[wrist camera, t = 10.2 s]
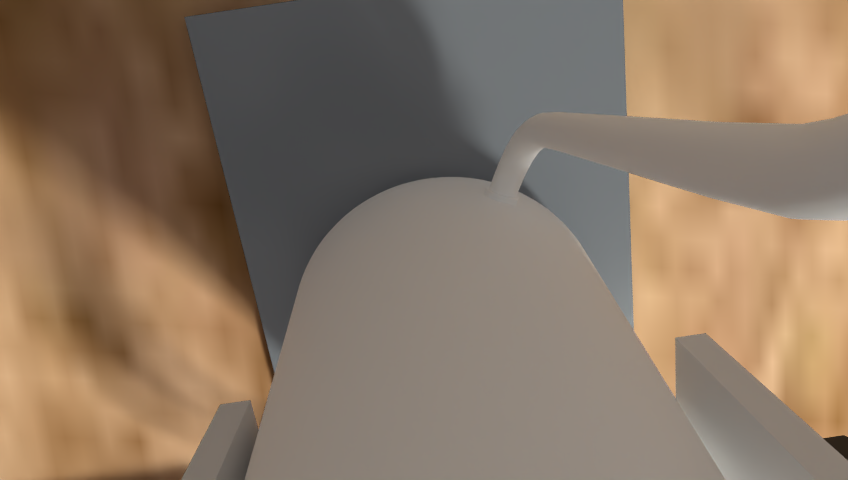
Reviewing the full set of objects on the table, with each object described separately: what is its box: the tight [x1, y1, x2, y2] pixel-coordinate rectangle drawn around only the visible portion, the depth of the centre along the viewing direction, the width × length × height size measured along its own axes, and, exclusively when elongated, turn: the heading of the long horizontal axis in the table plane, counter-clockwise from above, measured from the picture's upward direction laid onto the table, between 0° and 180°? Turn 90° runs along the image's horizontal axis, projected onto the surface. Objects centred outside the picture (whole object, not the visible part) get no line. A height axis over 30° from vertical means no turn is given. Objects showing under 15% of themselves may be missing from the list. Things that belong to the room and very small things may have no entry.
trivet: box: [185, 0, 634, 373], centre depth 22 cm, size 22×14×1 cm, turn 8°
